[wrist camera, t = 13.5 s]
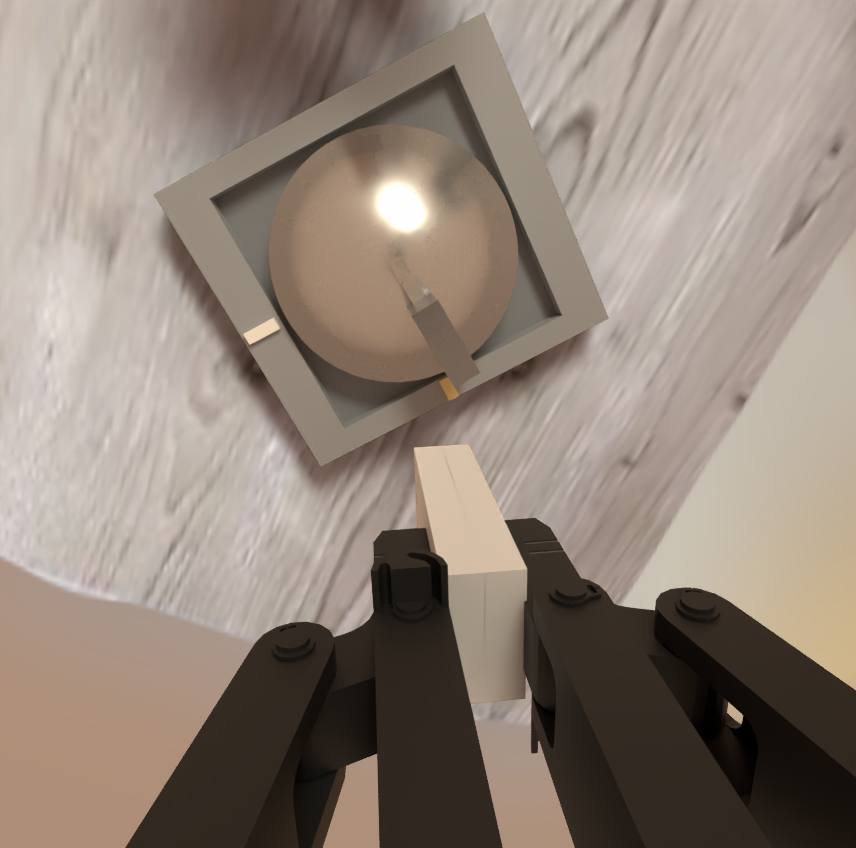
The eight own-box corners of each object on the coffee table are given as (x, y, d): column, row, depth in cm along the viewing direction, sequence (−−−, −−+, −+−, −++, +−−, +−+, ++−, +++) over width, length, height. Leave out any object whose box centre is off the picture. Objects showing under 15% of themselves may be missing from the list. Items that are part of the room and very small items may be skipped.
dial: (224, 215, 36) (197, 213, 30) (435, 78, 35) (449, 50, 29) (358, 415, 40) (357, 446, 34) (550, 299, 39) (581, 312, 33)
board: (475, 27, 36) (485, 10, 33) (593, 312, 41) (610, 319, 38) (168, 196, 37) (151, 194, 34) (323, 451, 42) (320, 468, 39)
